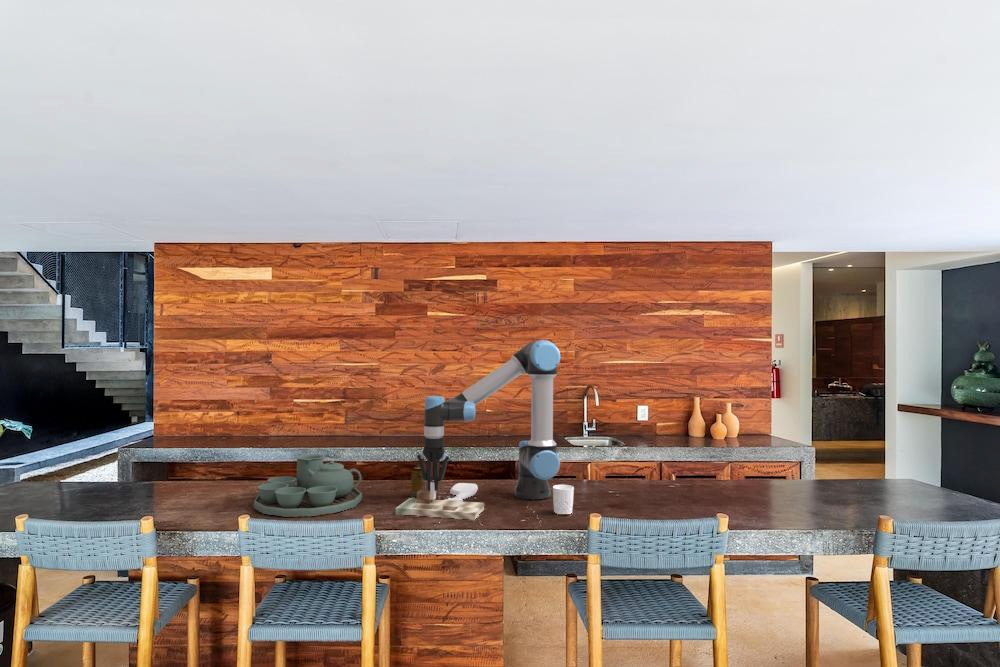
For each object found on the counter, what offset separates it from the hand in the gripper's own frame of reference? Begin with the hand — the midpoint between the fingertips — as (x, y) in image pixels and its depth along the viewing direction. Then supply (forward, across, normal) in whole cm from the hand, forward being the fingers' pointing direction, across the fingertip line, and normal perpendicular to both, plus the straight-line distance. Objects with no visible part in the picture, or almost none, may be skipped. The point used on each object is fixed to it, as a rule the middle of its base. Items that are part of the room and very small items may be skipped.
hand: (433, 498), depth 234 cm
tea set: (+5, +49, +4) cm, 49 cm away
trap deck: (+4, -4, +3) cm, 7 cm away
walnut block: (+1, +3, 0) cm, 3 cm away
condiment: (+4, +11, -16) cm, 20 cm away
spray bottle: (+5, -5, -22) cm, 24 cm away
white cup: (+4, -49, -5) cm, 50 cm away
